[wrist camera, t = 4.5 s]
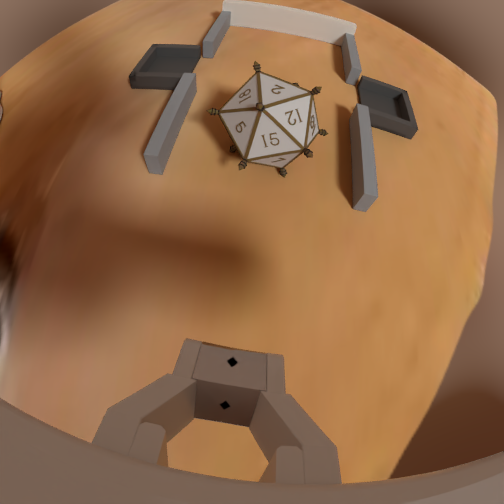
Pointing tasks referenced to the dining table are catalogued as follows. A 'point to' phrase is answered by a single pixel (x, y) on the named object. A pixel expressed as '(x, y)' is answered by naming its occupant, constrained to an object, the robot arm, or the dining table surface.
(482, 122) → the dining table surface
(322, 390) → the dining table surface
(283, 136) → the game die
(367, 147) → the trap lane
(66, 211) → the dining table surface
